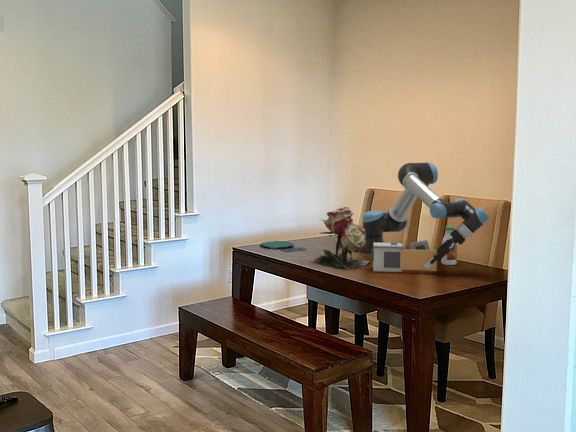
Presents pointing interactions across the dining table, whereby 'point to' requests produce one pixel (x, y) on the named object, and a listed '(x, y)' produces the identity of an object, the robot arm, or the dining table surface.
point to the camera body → (386, 257)
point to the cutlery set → (280, 245)
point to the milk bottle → (452, 255)
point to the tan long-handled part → (416, 259)
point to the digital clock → (419, 245)
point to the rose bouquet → (343, 240)
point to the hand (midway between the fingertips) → (425, 266)
